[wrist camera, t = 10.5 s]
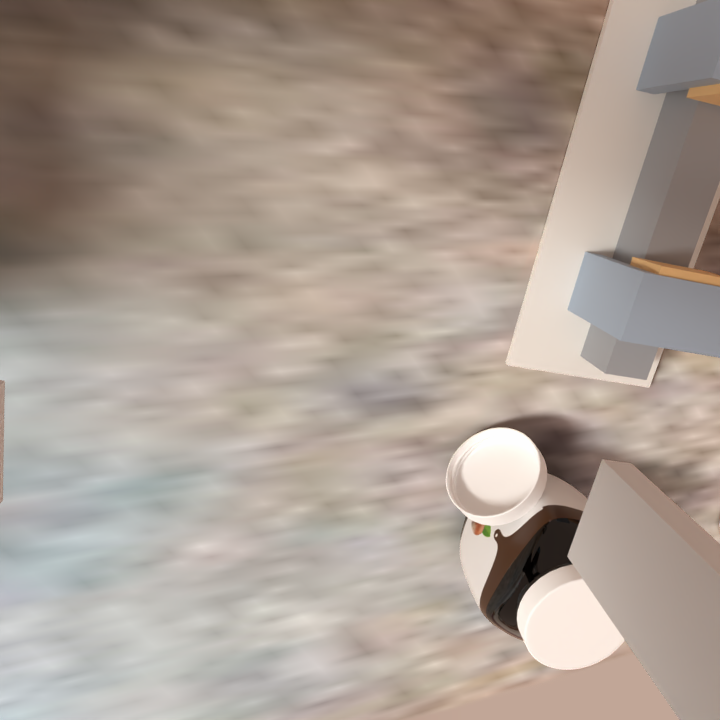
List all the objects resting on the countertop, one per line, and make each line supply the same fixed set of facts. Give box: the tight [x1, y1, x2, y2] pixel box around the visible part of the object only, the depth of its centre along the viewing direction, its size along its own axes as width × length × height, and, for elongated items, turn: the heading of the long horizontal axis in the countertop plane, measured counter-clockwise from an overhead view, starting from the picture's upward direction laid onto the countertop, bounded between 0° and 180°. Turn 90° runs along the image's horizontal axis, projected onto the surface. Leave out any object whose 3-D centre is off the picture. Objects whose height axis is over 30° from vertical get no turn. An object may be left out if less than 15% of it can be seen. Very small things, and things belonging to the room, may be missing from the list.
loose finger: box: [567, 252, 720, 358], centre depth 38 cm, size 7×4×7 cm, turn 79°
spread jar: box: [446, 427, 625, 670], centre depth 41 cm, size 12×11×12 cm
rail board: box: [506, 0, 720, 387], centre depth 37 cm, size 11×27×4 cm, turn 169°
